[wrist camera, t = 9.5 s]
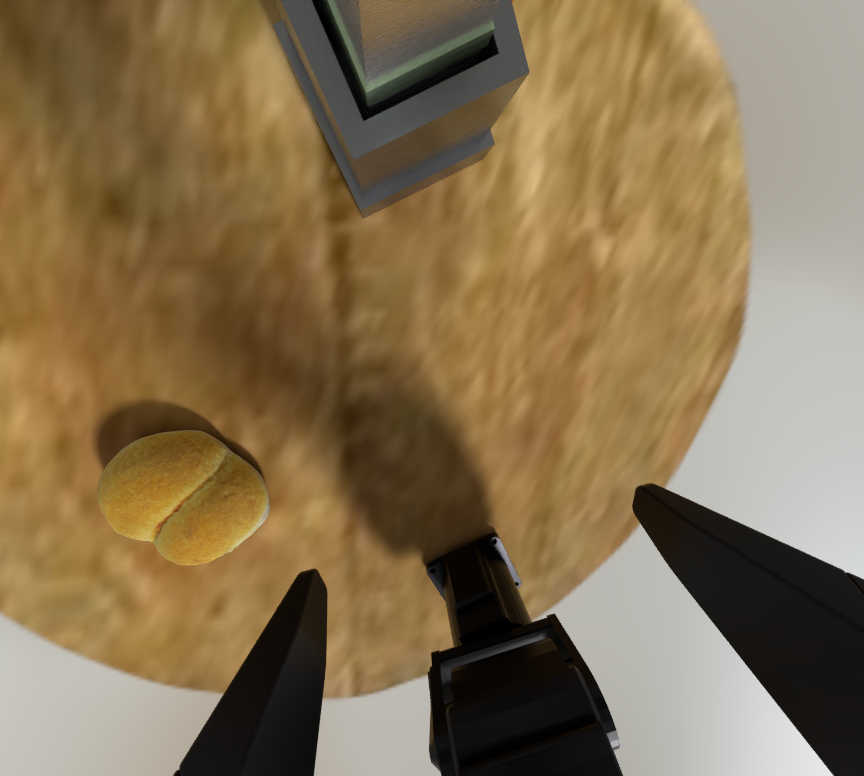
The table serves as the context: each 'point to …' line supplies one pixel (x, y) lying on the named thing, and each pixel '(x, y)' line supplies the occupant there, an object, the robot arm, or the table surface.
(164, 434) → the bread roll
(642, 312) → the table surface
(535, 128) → the table surface
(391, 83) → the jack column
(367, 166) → the dark grey box
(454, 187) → the table surface
